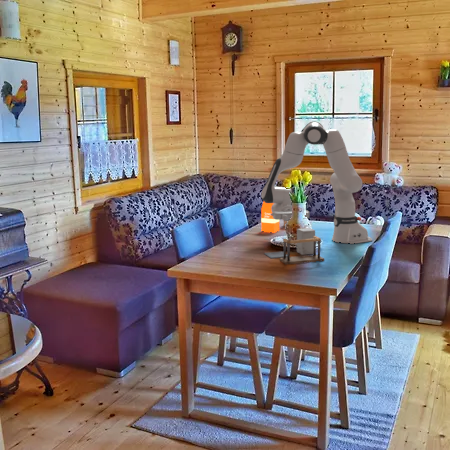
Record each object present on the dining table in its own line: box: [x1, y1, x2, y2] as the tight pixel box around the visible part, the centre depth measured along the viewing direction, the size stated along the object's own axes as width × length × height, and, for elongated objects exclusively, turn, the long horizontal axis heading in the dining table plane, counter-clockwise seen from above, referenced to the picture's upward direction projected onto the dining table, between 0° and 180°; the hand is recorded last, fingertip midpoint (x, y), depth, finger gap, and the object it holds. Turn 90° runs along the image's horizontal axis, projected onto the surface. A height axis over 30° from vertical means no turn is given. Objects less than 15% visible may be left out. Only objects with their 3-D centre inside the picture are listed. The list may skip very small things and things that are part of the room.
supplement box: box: [296, 227, 316, 256], centre depth 287 cm, size 7×7×13 cm
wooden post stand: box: [282, 235, 322, 261], centre depth 272 cm, size 17×6×10 cm, turn 105°
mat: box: [263, 250, 287, 259], centre depth 284 cm, size 10×10×1 cm
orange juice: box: [260, 200, 280, 234], centre depth 342 cm, size 8×9×20 cm
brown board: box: [279, 254, 325, 265], centre depth 273 cm, size 20×8×1 cm, turn 105°
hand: (296, 217), depth 296 cm, fingers open, 8 cm apart
